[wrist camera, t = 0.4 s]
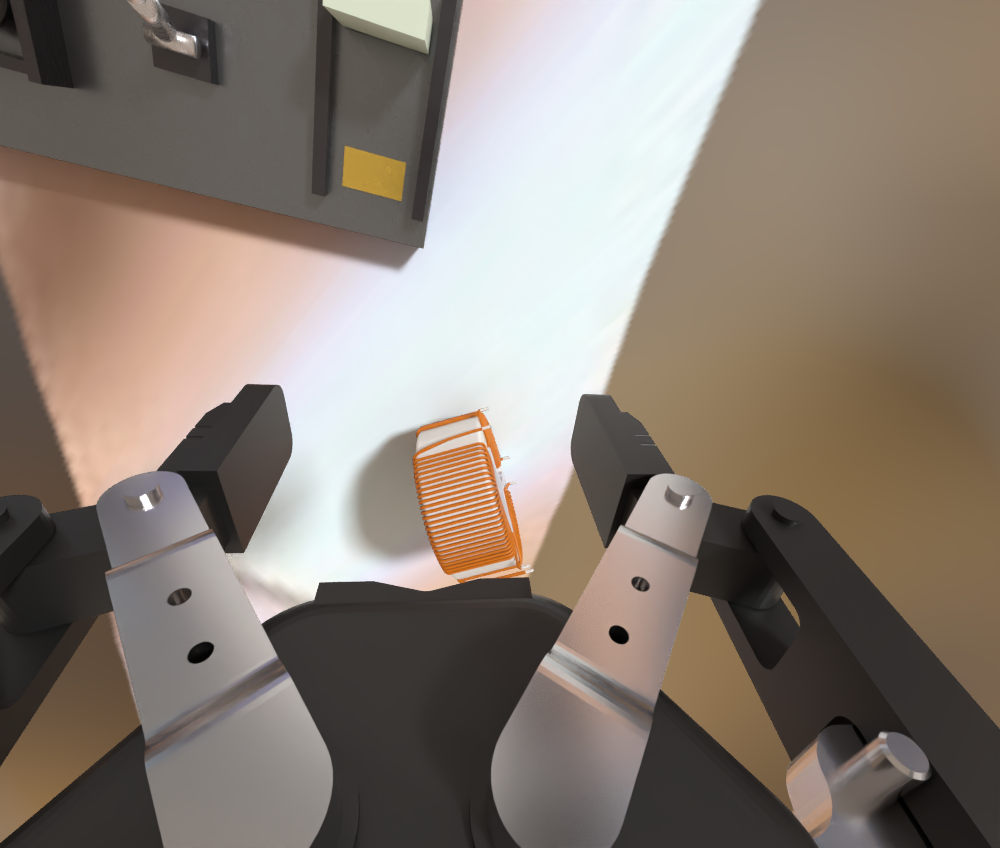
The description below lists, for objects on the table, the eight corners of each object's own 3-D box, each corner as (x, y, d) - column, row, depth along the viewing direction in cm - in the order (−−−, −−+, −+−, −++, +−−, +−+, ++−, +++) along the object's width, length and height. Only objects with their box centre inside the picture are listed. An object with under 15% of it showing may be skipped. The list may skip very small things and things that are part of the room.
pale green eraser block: (344, -11, 25) (324, -39, 21) (432, 20, 26) (429, -1, 22) (342, 25, 26) (322, 5, 22) (428, 54, 27) (424, 40, 23)
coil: (461, 502, 52) (465, 619, 39) (414, 394, 43) (401, 498, 31) (518, 487, 51) (541, 600, 39) (483, 375, 43) (497, 473, 31)
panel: (-149, -262, 21) (-313, -371, 17) (467, -26, 28) (471, -57, 23) (-31, 127, 29) (-119, 126, 25) (425, 240, 36) (421, 256, 31)
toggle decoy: (154, 27, 25) (98, -45, 20) (202, 42, 25) (157, -26, 21) (152, 50, 25) (95, -17, 20) (199, 65, 25) (154, 2, 21)
